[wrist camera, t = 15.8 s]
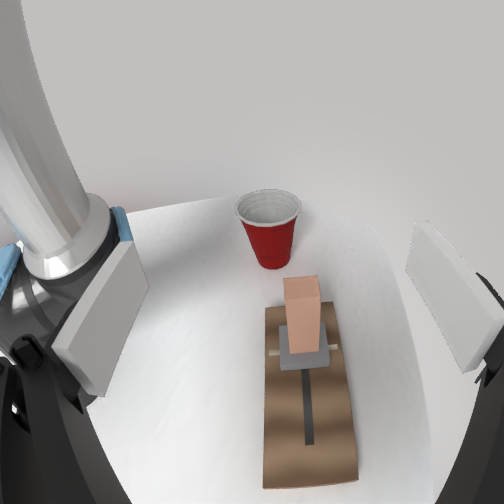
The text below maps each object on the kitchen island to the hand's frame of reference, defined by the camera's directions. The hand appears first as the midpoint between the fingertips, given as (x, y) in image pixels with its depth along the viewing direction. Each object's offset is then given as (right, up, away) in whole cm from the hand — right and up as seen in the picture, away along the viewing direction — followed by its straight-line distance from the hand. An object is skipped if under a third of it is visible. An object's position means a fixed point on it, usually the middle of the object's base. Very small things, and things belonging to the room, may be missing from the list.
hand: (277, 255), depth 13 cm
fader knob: (+6, -12, +23) cm, 27 cm away
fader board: (+6, -17, +21) cm, 27 cm away
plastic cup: (+3, -1, +42) cm, 42 cm away
